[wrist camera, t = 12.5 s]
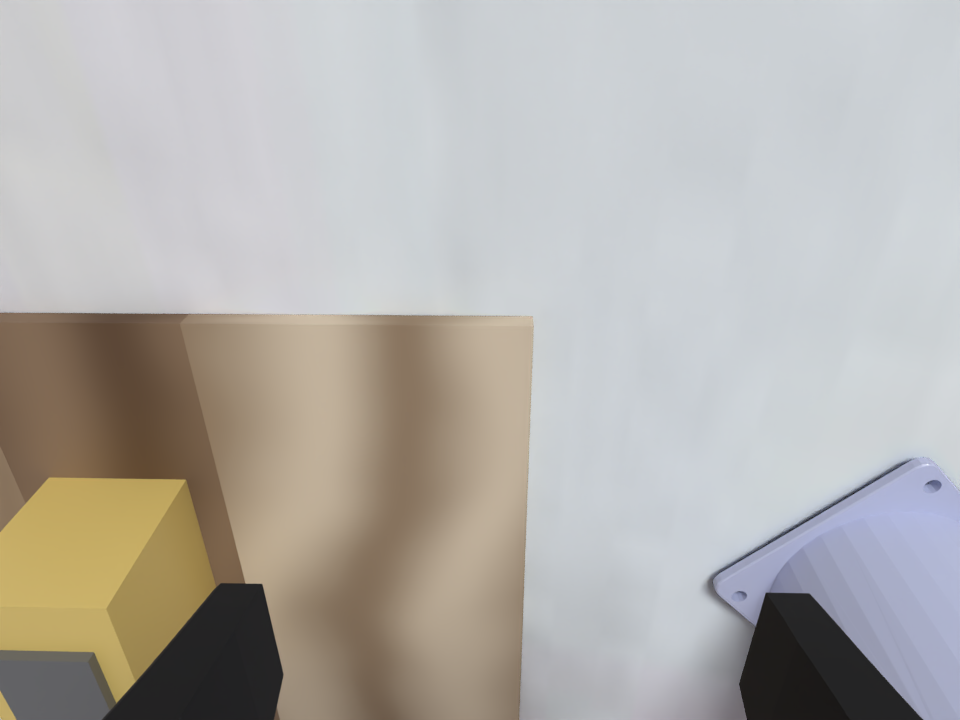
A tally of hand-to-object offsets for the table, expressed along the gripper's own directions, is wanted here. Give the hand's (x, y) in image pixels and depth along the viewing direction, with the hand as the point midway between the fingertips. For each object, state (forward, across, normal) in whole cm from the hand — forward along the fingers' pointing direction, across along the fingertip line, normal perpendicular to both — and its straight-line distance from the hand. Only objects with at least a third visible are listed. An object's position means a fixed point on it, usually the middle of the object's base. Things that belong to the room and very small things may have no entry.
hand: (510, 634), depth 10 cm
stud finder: (+10, +12, +10) cm, 19 cm away
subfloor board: (+10, +9, +10) cm, 17 cm away
